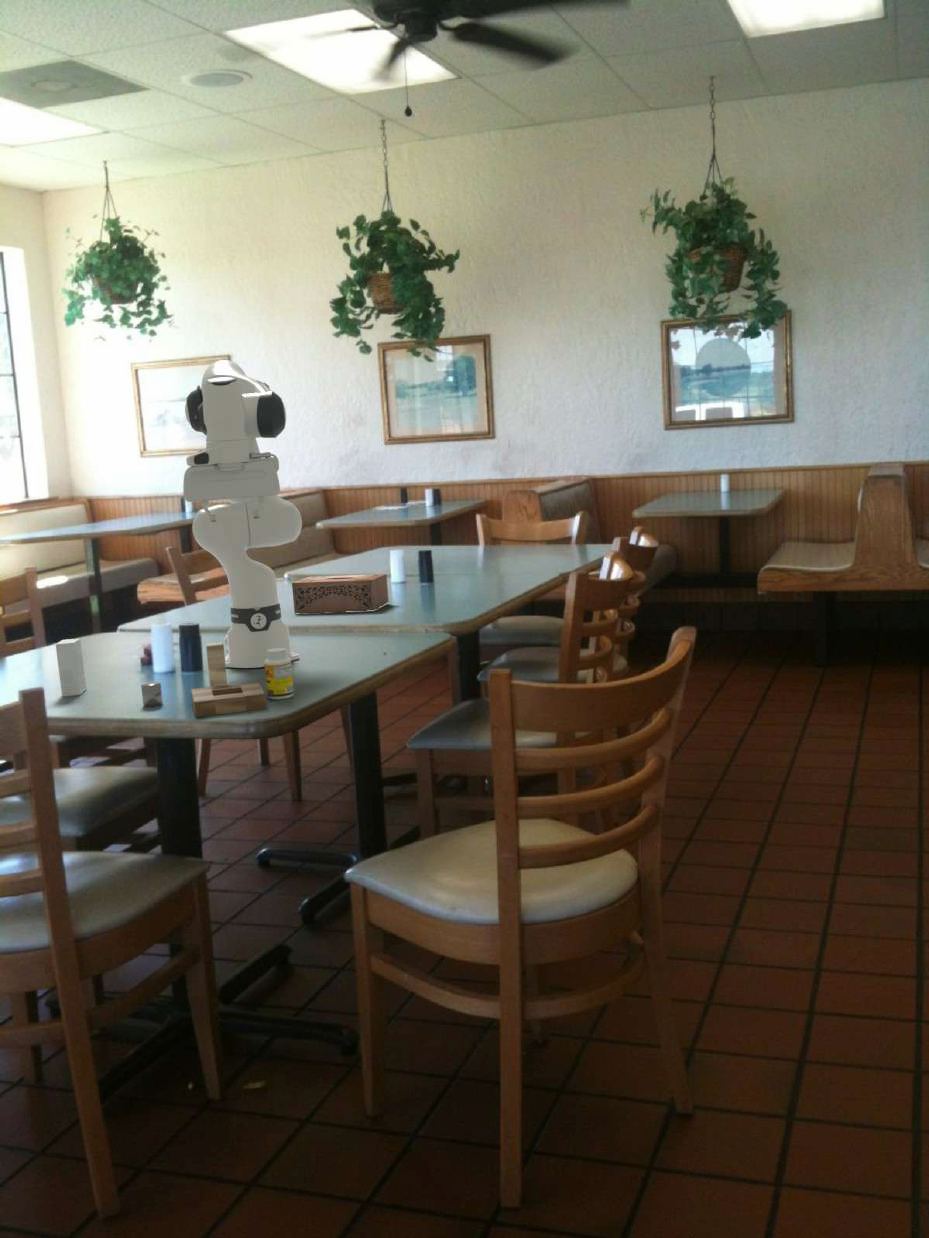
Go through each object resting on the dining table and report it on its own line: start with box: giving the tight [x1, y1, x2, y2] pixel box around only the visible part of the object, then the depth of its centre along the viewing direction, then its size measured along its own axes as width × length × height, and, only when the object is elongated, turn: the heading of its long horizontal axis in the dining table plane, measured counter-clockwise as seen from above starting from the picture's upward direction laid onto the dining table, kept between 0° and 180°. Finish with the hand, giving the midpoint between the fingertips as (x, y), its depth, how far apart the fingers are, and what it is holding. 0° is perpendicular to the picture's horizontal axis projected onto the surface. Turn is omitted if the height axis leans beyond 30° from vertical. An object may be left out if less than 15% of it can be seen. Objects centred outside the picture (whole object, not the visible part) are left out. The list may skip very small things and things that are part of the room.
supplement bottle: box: [264, 648, 295, 701], centre depth 263 cm, size 6×6×10 cm
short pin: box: [140, 681, 164, 708], centre depth 264 cm, size 4×4×4 cm
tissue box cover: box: [291, 573, 389, 614], centre depth 389 cm, size 26×14×10 cm, turn 76°
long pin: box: [205, 642, 228, 687], centre depth 270 cm, size 4×4×11 cm
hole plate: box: [190, 681, 267, 718], centre depth 258 cm, size 14×14×3 cm
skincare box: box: [55, 638, 87, 697], centre depth 282 cm, size 6×4×12 cm
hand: (234, 520), depth 268 cm, fingers open, 8 cm apart
